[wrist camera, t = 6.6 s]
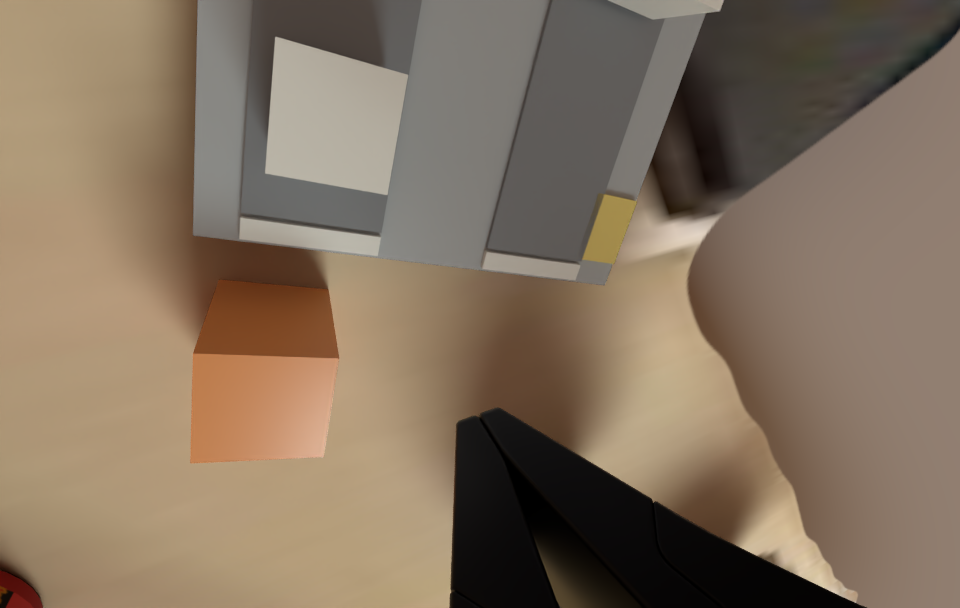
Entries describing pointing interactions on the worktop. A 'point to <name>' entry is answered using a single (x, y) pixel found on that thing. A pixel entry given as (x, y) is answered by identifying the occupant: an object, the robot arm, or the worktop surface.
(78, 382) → the worktop surface
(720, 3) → the toggle
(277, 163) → the toggle
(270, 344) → the orange rectangular block
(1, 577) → the canned food
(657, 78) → the breaker panel
